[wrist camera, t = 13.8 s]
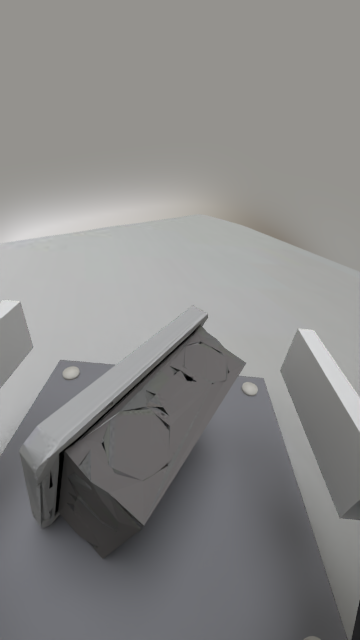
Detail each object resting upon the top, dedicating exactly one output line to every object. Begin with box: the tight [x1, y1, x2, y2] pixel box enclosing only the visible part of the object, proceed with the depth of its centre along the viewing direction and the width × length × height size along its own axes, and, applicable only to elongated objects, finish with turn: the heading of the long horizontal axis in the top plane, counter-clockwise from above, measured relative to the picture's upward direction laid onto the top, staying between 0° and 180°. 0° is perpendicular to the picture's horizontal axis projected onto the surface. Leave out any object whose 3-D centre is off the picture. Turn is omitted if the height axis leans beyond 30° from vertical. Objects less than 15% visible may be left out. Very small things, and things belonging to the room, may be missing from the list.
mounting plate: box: [0, 360, 347, 640], centre depth 15 cm, size 17×16×2 cm
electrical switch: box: [19, 305, 246, 559], centre depth 12 cm, size 9×5×9 cm, turn 147°
